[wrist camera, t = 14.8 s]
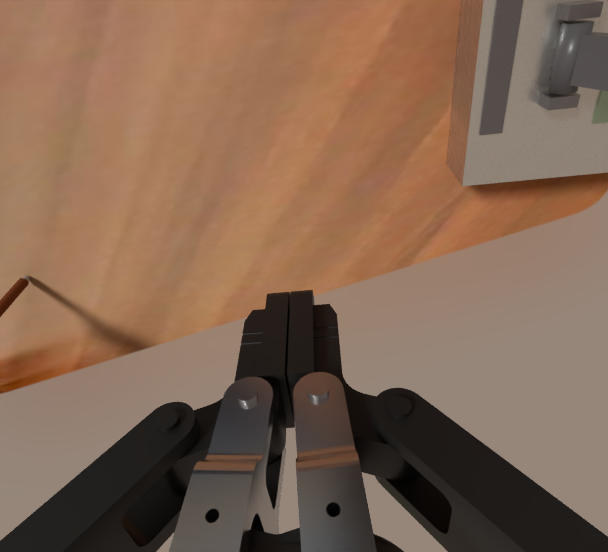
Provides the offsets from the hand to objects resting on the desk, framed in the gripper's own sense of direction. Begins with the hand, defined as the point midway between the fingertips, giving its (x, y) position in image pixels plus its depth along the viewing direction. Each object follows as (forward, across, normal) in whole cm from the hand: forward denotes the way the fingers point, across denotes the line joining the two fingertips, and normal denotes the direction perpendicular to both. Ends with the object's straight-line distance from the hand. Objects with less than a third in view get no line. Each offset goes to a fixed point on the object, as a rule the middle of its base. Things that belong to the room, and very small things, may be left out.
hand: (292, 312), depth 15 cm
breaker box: (+35, -22, -1) cm, 41 cm away
